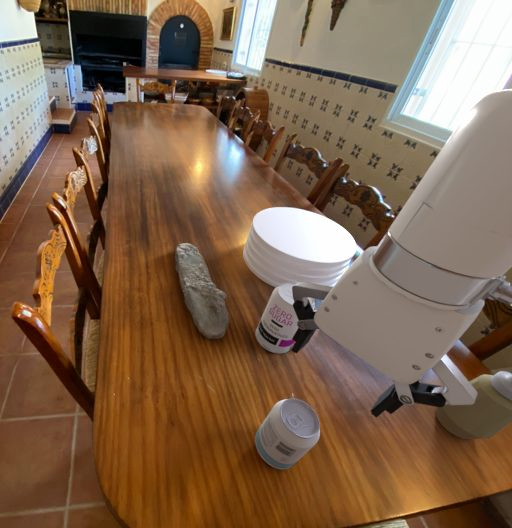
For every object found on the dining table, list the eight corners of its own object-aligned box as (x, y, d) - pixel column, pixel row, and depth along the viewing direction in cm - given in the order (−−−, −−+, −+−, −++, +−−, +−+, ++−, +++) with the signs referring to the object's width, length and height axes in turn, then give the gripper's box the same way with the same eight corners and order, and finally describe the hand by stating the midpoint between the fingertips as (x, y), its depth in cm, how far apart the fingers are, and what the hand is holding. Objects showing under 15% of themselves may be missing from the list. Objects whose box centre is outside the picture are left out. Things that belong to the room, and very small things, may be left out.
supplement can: (290, 331, 70) (315, 285, 61) (291, 360, 64) (319, 314, 55) (255, 321, 72) (275, 275, 62) (253, 348, 66) (274, 302, 56)
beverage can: (303, 457, 50) (335, 427, 42) (274, 480, 47) (302, 453, 39) (273, 419, 54) (297, 386, 47) (245, 438, 51) (265, 406, 44)
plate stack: (320, 241, 102) (335, 212, 94) (352, 300, 80) (375, 268, 73) (238, 232, 102) (247, 202, 95) (249, 288, 81) (261, 255, 74)
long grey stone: (198, 251, 94) (167, 254, 93) (200, 237, 91) (168, 240, 90) (238, 339, 67) (195, 344, 65) (242, 323, 64) (197, 329, 62)
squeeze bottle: (439, 439, 54) (524, 389, 42) (420, 396, 60) (490, 343, 48) (489, 452, 52) (591, 405, 41) (465, 407, 59) (547, 356, 47)
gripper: (580, 309, 21) (427, 414, 32) (344, 208, 31) (288, 314, 42) (576, 365, 17) (404, 463, 28) (308, 229, 27) (257, 341, 38)
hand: (335, 374), depth 35 cm, fingers open, 9 cm apart
